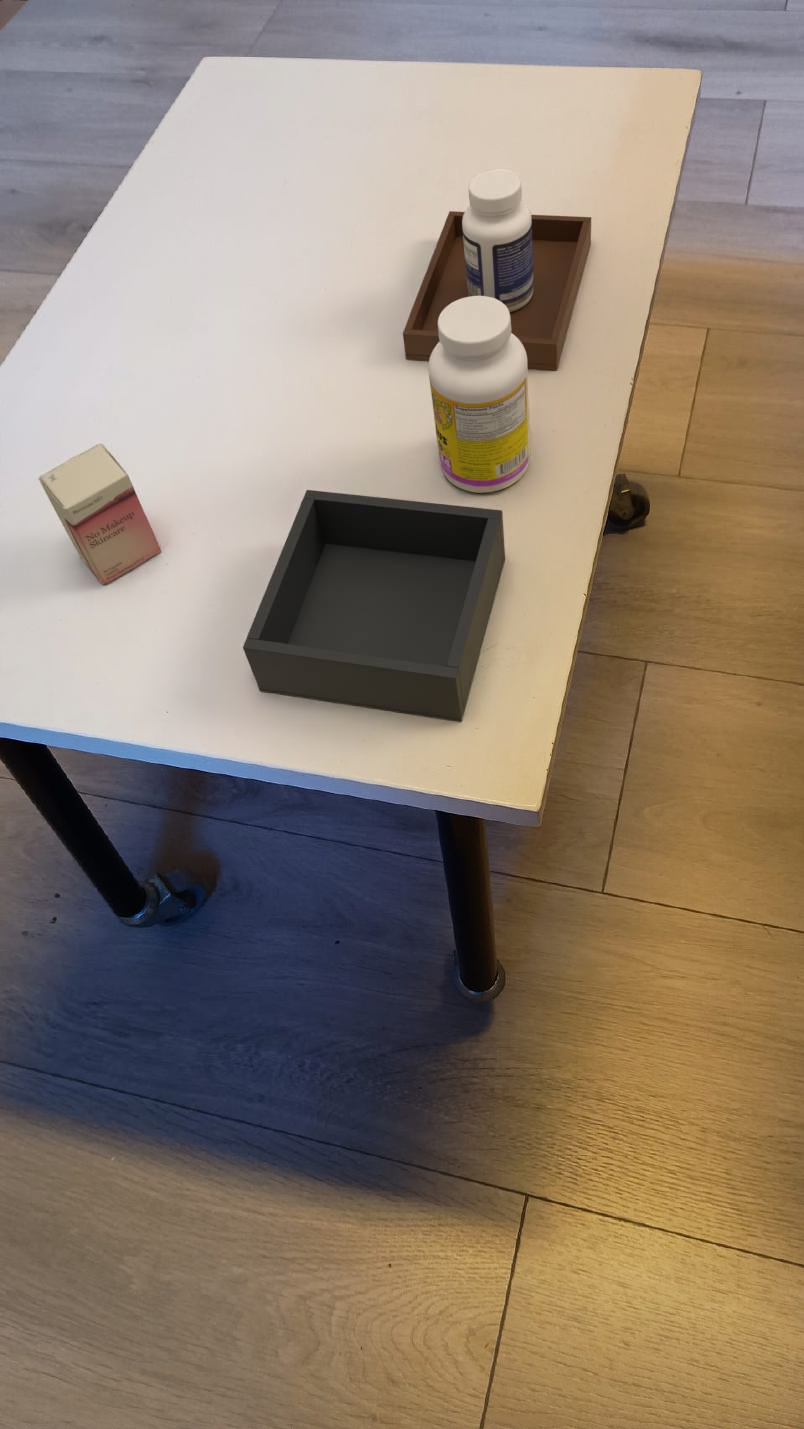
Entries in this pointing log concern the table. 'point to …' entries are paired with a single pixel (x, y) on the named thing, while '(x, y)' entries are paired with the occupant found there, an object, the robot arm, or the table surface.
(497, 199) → the pill bottle
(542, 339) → the tray
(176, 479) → the table surface
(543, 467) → the table surface
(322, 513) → the dark grey open box
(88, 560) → the small box
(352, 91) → the table surface
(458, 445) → the supplement bottle
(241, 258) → the table surface
